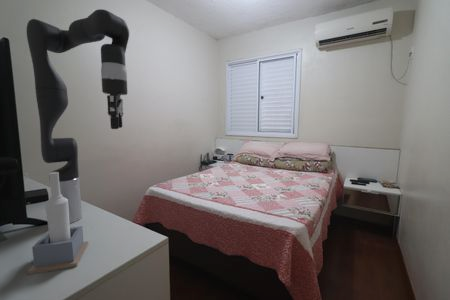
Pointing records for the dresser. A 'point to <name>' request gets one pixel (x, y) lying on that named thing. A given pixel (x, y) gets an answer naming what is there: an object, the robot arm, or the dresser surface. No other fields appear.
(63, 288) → the dresser surface
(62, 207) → the bottle
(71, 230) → the sleeve
